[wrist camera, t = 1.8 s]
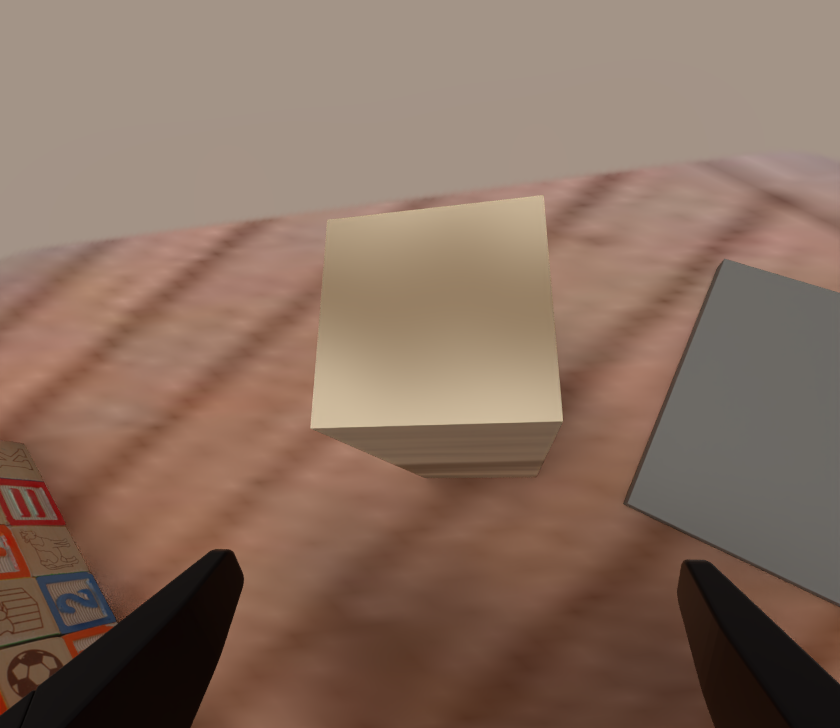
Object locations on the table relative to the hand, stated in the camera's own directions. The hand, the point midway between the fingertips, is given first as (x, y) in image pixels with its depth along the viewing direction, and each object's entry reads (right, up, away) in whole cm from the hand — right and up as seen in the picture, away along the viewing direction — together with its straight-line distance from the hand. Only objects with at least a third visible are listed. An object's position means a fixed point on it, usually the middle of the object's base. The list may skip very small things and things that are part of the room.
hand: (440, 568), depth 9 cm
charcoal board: (+16, +1, +10) cm, 19 cm away
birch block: (+2, +1, +13) cm, 13 cm away
